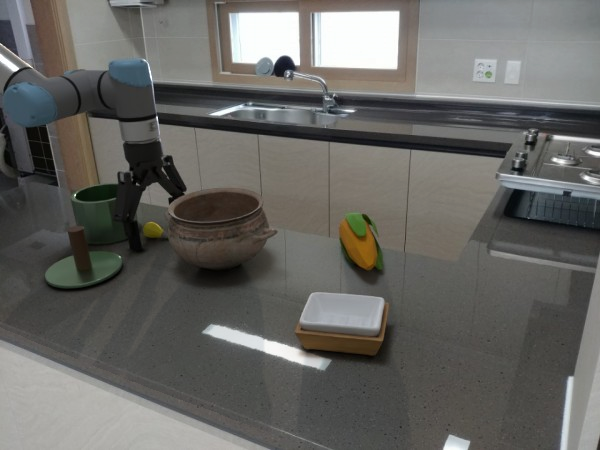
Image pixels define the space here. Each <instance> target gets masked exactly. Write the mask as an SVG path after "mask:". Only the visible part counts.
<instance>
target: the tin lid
mask: <svg viewBox="0 0 600 450" xmlns="http://www.w3.org/2000/svg"><path fill="white" fill-rule="evenodd" d="M67 235H68V239H69V240H68V241H69V244H70V247H71V252H72V255H70V256H67V257H65V258H62V259H61V260H59V261H56V262H54V263H53V264H52V265H50V266H49V267H48V269H46V271H45V274H44V279H45V281H46V283H47V284H48V285H50V286H52V287H54V288H59V289H78V288H85V287H90V286H93V285H97V284H100V283H102V282H105V281H106V280H109V279H110V278H112V277H114V276H115V275H116V274H117V273H119V271H121V269H122V267H123V259H122V257H121V256H120V255H119V254H117V253H114V252H111V251H105V250H96V251H94V250H93V251H89V246H88V245H89V244H87V241H86V236H85V232H84V227H83V226H77V225H75V226H70V227H69V228H67Z"/></svg>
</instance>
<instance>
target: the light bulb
mask: <svg viewBox="0 0 600 450" xmlns="http://www.w3.org/2000/svg"><path fill="white" fill-rule="evenodd" d="M142 231H143V235H144V236H145V237H147V238H149V239H157V238H159V239H165V240H167V239H169V238H168V231H167V232H166V231H165V230H164V229H162V228H161V226H160V225H159V224H158V223H156V222H154V221H148V222H146V223H145V224H144V226H143V227H142Z"/></svg>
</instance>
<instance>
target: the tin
mask: <svg viewBox="0 0 600 450" xmlns="http://www.w3.org/2000/svg"><path fill="white" fill-rule="evenodd" d="M117 188H118V182H105V183H97V184H92V185H89V186H85V187H83V188H79V189H78V190H76V191H74V192H73V193H72V194H71V195H70V203H71V207H72V212H73V215H74V221H75V226H83V227H84V232H85V236H86V241H87V245H96V246H98V245H100V246H102V245H110V244H115V243H119V242H122V241H125V240H128V237H127V236H126V235H125V232H124V226H123V223H122V222H117V221H114V220H113V214H114V208H115V201H116V194H117ZM127 216H129V214H128V215H127ZM134 220H137V222H138V228H139V229H140V225H139V224H140V223H139V218H138V213H137V211H136V214H135V217H134Z"/></svg>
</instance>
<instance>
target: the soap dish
mask: <svg viewBox="0 0 600 450" xmlns="http://www.w3.org/2000/svg"><path fill="white" fill-rule="evenodd" d="M389 308H390V302H386V301H385V299H384V298H383V297H380V296H372V295H363V294H349V293H336V292H335V293H334V292H321V291H319V292H317V291H316V292H312V293H310V295H309V296H308V298H307V301H306V303H305V305H304V307H303V310H302V311H301V314H300V315H301V316H299V317H300V318H299V320H298V323H297V325H296V328H295V330H294V334H295V336H296V337H297V339H298V341H299V342H300V344H301V345H302V346H303V348H304V349H306V350H307V351H310V350H318V351H326V352H327V351H328V352H335V353H336V352H338V353H346V354H355V355H356V354H357V355H365V356H369V357H373V356H376V355H377V354H378V352H379V349H380V348H381V346H382V344H383V341H384V338H385V332H386V326H387V320H388V313H389Z"/></svg>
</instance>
